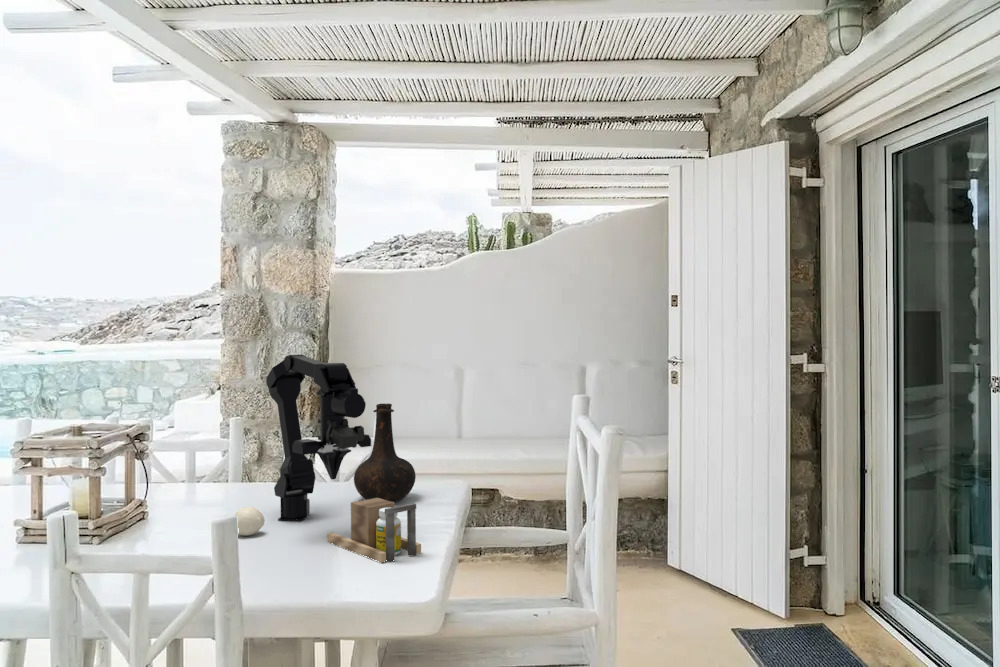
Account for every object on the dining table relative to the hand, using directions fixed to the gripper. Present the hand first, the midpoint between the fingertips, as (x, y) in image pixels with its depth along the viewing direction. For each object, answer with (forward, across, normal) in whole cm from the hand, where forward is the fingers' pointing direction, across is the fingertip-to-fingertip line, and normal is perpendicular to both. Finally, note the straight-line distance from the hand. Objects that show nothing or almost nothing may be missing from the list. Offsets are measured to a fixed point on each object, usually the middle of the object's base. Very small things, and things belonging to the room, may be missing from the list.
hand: (333, 479), depth 176 cm
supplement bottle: (+13, 0, -23) cm, 27 cm away
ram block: (+13, 0, -17) cm, 22 cm away
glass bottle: (+13, +29, +21) cm, 38 cm away
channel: (+13, 0, -17) cm, 22 cm away
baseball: (+13, -16, +13) cm, 24 cm away
